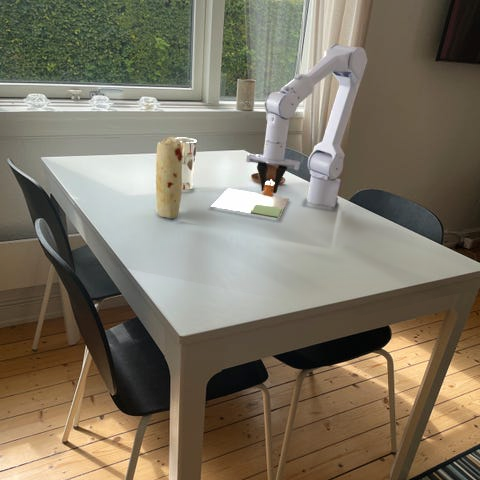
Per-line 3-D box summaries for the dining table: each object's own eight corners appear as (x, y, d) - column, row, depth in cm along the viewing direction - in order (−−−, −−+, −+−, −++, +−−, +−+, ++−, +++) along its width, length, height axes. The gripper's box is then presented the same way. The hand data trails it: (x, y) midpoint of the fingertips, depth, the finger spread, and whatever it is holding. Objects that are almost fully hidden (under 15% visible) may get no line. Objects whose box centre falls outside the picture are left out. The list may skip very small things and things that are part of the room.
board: (288, 201, 153) (289, 198, 152) (278, 221, 136) (279, 218, 135) (227, 191, 156) (228, 188, 155) (210, 209, 139) (210, 206, 138)
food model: (184, 221, 129) (187, 143, 118) (159, 221, 127) (160, 142, 116) (177, 208, 137) (179, 134, 126) (153, 208, 135) (154, 133, 124)
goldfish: (266, 190, 141) (267, 177, 138) (275, 192, 140) (277, 178, 138) (261, 196, 135) (263, 182, 133) (271, 198, 135) (273, 184, 133)
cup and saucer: (285, 189, 164) (288, 171, 160) (250, 186, 163) (252, 167, 160) (283, 180, 174) (286, 162, 171) (250, 176, 173) (252, 159, 170)
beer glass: (196, 187, 155) (198, 139, 148) (192, 194, 149) (194, 143, 142) (174, 185, 156) (176, 136, 148) (170, 191, 150) (171, 140, 142)
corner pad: (282, 209, 143) (282, 208, 143) (277, 217, 136) (277, 216, 136) (255, 204, 144) (255, 203, 144) (250, 212, 137) (250, 211, 137)
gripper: (246, 139, 128) (241, 190, 135) (300, 148, 125) (292, 199, 132) (251, 135, 133) (246, 184, 141) (303, 143, 131) (295, 192, 138)
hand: (269, 191), depth 137 cm, fingers closed on goldfish, 3 cm apart
